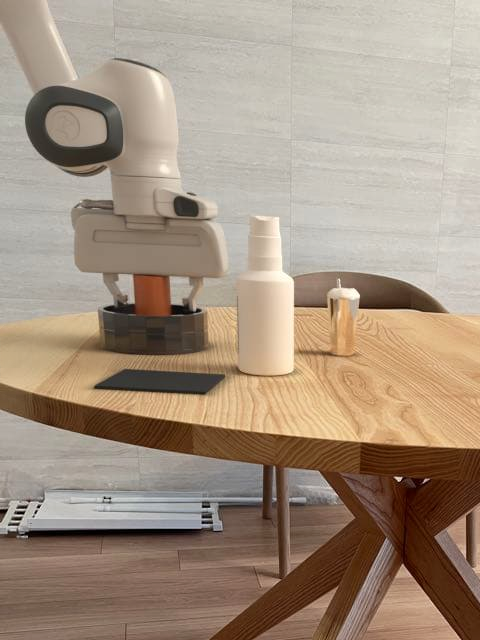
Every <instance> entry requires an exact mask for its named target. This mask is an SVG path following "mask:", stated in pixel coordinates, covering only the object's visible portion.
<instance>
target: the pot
mask: <svg viewBox="0 0 480 640" xmlns="http://www.w3.org/2000/svg"><path fill="white" fill-rule="evenodd" d="M128 303H129V307H128V308H126V309H118V308H115V307H114V303H113V304H106V305H101V306H99V307H98V308H97V317H98V329H99V340H100V347H101V348H102V349H104V350H107V351H110V352H115V353H122V354H132V355H150V356H152V355H154V356H155V355H158V356H159V355H160V356H163V355H164V356H166V355H182V354H190V353H191V354H192V353H197V352H201V351H204V350H206V349H208V347H209V322H208V310H207V309H206V308H204V307H200V306H196V311H195V312H189V311H183V304H179V303H171V314H172V315H166V316H158V315H135V302H128Z"/></svg>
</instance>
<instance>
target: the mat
mask: <svg viewBox="0 0 480 640" xmlns="http://www.w3.org/2000/svg"><path fill="white" fill-rule="evenodd" d="M225 378H226V374H224V373H207V372H206V373H205V372H191V371H190V372H189V371H170V370H152V369H151V370H150V369H136V368H135V369H132V368H123V369H122V370H120V371H118V372H117V373H115V374H113V375H111V376H109V377H107V378H105V379H103V380H102V381H100V382H98V383H96V384H94V389H101V390H117V391H118V390H119V391H138V392H153V393H154V392H155V393H174V394H190V395H191V394H193V395H206V394H208V393H209V392H210V391H211V390H212V389H214V388H215V387H216V386H217V385H218V384H219V383H221V382H222V381H223V380H224V379H225Z"/></svg>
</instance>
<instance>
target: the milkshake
mask: <svg viewBox="0 0 480 640" xmlns="http://www.w3.org/2000/svg"><path fill="white" fill-rule="evenodd" d="M326 297H327V298H326V300H327V313H328V332H329V334H328V335H329V350H330V354H331V355H333V356H338V357H347V356H348V357H350V356H353V355H355V354H354V353H355V344H356V336H357V335H356V334H357V324H358V323H357V322H358V314H359V307H360V306H359V305H360V297H361V295H360V293H359V292H358V290H357V289H355V288H354V287H351V288H348V287H347V288H346V287H341V279H340V278H336V287H334V288H332V289H330V290H329V291H328V292H327V294H326Z"/></svg>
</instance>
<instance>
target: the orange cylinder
mask: <svg viewBox="0 0 480 640" xmlns="http://www.w3.org/2000/svg"><path fill="white" fill-rule="evenodd" d="M170 279H171V276H155V275H132V284H133V299H134V303H135V315H158V316H166V315H172V314H171V304H172V297H171V280H170Z"/></svg>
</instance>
